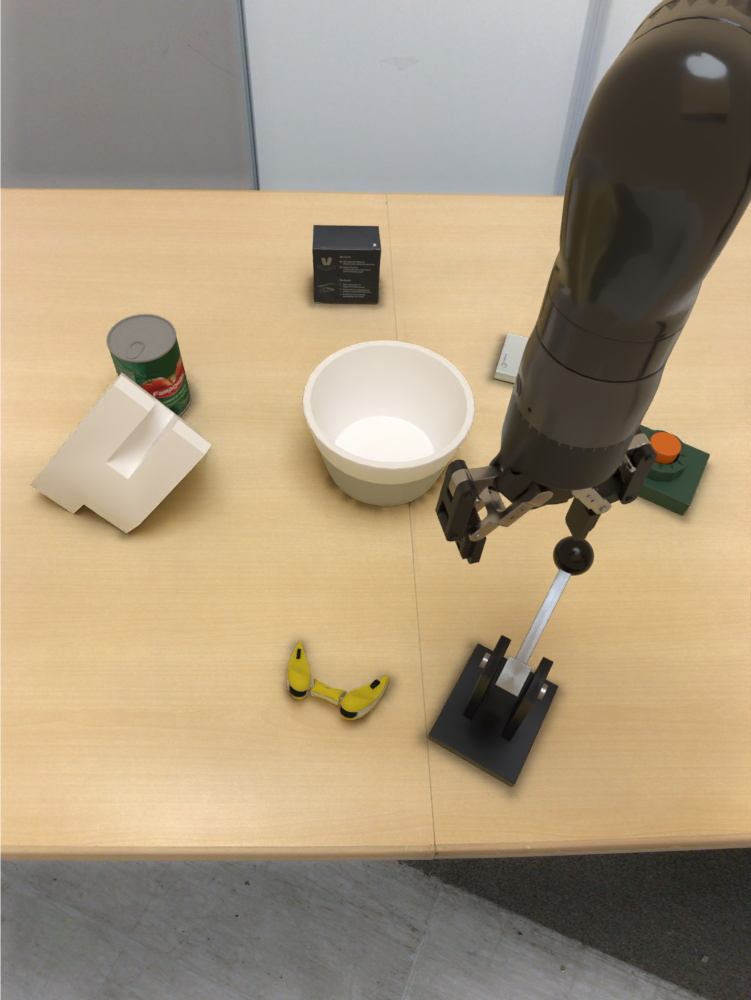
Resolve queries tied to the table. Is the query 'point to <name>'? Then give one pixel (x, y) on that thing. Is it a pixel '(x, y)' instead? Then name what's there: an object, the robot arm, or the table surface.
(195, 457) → the slotted wedge
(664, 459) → the button
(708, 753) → the table surface
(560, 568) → the lever
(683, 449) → the button box
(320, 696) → the yellow bent piece
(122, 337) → the canned tomato
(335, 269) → the box
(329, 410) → the bowl
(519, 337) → the hard drive
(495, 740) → the bracket
